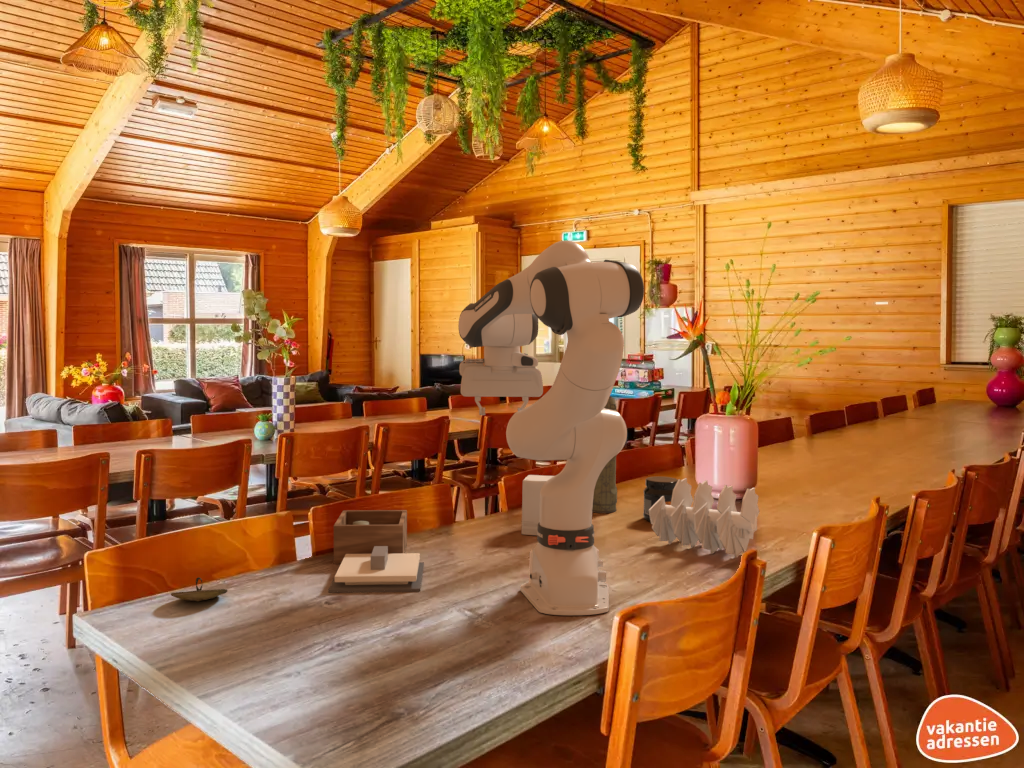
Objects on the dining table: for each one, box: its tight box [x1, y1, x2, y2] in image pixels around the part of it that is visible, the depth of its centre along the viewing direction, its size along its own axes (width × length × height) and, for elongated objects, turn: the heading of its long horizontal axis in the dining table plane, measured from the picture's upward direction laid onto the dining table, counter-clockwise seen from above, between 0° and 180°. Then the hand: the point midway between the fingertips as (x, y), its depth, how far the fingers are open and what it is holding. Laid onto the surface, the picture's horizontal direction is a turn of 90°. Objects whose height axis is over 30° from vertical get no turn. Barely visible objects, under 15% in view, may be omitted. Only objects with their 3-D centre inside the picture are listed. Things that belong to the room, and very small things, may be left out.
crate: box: [333, 509, 408, 565], centre depth 195 cm, size 16×16×9 cm
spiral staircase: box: [649, 477, 760, 559], centre depth 201 cm, size 18×18×25 cm
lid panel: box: [334, 546, 421, 585], centre depth 176 cm, size 17×17×5 cm
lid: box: [170, 576, 228, 602], centre depth 159 cm, size 11×10×5 cm
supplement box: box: [521, 474, 555, 536], centre depth 217 cm, size 9×9×15 cm
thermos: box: [592, 395, 618, 514], centre depth 244 cm, size 9×12×35 cm
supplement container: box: [642, 476, 678, 523], centre depth 233 cm, size 10×10×12 cm
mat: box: [328, 561, 425, 594], centre depth 176 cm, size 19×19×1 cm
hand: (501, 415), depth 196 cm, fingers open, 8 cm apart
